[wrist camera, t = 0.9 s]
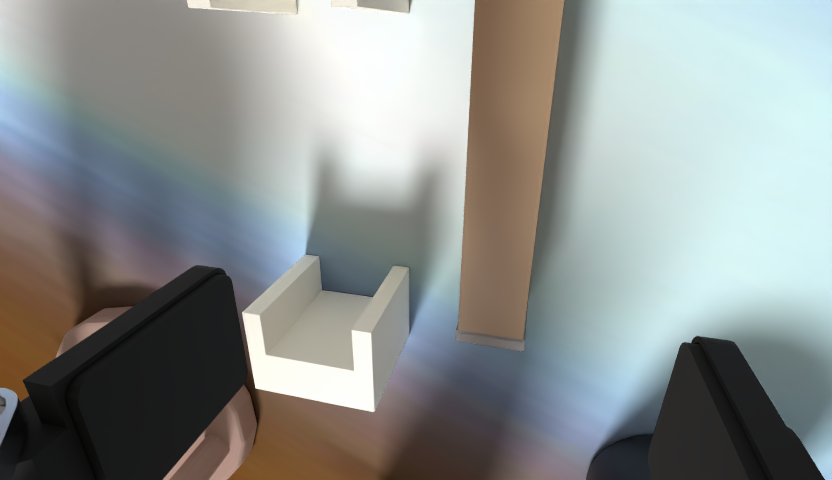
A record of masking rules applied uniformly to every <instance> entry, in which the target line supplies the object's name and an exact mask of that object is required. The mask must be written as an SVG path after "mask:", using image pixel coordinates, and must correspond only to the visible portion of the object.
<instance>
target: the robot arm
mask: <svg viewBox="0 0 832 480" xmlns="http://www.w3.org/2000/svg"><path fill="white" fill-rule="evenodd" d="M246 378H247V364H246V359H245V353H244V347H243V341H242V336H241V330H240V324H239V319H238V313H237V307H236V302H235V296H234V290H233V285H232V281H231V278H230V277H229V276H227V275H226V273H225V271H224V270H223V269H221V268H215V267H208V266H201V265H196V266H194V267H192V268H190V269H189V270H187V271H186V272H184V273H183V274H181V275H180V276H178V277H177V278H175V279H174V280H172V281H171V282H169V283H168V284H166V285H165V286H163V287H162V288H160V289H159V290H157V291H156V292H154V293H153V294H151V295H150V296H148V297H147V298H145V299H144V300H142V301H141V302H139V303H138V304H136V305H135V306H133V307H132V308H130V309H129V310H127V311H126V312H124V313H123V314H121V315H120V316H118V317H117V318H115V319H114V320H112V321H111V322H109V323H108V324H106V325H105V326H103V327H102V328H100V329H99V330H97V331H96V332H94V333H93V334H91V335H90V336H88V337H87V338H85V339H84V340H82V341H81V342H79V343H78V344H76V345H75V346H73V347H72V348H70V349H69V350H67V351H66V352H64V353H63V354H61V355H60V356H58V357H57V358H55V359H54V360H52V361H51V362H49V363H48V364H46V365H45V366H43V367H42V368H40V369H39V370H37V371H36V372H34V373H33V374H31V375H30V376H28V377H27V378H25V379H24V380H23V382H24V384H25V387H26V389H27V391H28V393H29V396H28V397H27V398H25V399H24V400H23V401H21V402H20V401H19V398H18V397H17V395H16V394H15V393H14V391H11V390H8V389H6V388H0V480H163V479H164V478H165V476H166V475H167V474H168V473H169V472H170V471H171V469H172V468H173V467H174V466H175V465H176V464H177V462H178V461H179V460H180V459H181V458H182V456H183V455H184V454H185V453H186V452H187V451H188V449H189V448H190V447H191V446H192V445H193V444H194V442H195V441H196V440H197V439H198V438H199V437H200V435H201V434H202V433H203V432H204V431H205V430H206V428H207V427H208V426H209V425H210V424H211V422H212V421H213V420H214V419H215V418H216V417H217V415H218V414H219V413H220V412H221V411H222V410H223V408H224V407H225V406H226V405H227V404H228V403H229V401H230V400H231V399H232V398H233V397H234V396H235V394H236V393H237V392H238V391H239V390H240V389H241V387H242V386H243V385H244V383H245V381H246ZM648 465H649V471H650V475H651V479H652V480H825V479H824V478H823V476H822V474H821V473H820V471H819V470H818V468H817V466H816V465H815V463H814V462H813V460H812V458H811V457H810V455H809V454H808V452H807V450H806V449H805V447H804V446H803V444H802V442H801V441H800V439H799V438H798V436H797V435H796V434H795V433H794V432H793V430H791V429H790V428H788V427H786V425H785V423H784V422H783V420H782V418H781V417H780V415H779V414H778V412H777V410H776V409H775V407H774V405H773V404H772V402H771V401H770V399H769V397H768V396H767V394H766V392H765V391H764V389H763V387H762V386H761V384H760V383H759V381H758V379H757V378H756V376H755V374H754V373H753V371H752V370H751V368H750V366H749V365H748V363H747V361H746V360H745V358H744V356H743V355H742V353H741V352H740V350H739V348H738V347H737V345H736V344H735V343H734V342H732V341H728V340H721V339H714V338H707V337H700V336H697V337H695V338H694V339H693V340H692V342H691V343H686V342H684V343H682V344H681V346H680V348H679V351H678V354H677V358H676V361H675V364H674V368H673V371H672V374H671V378H670V381H669V384H668V388H667V391H666V394H665V397H664V401H663V404H662V407H661V411H660V414H659V417H658V421H657V424H656V427H655V430H654V434H653V437H652V440H651V444H650V447H649V453H648Z"/></svg>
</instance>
